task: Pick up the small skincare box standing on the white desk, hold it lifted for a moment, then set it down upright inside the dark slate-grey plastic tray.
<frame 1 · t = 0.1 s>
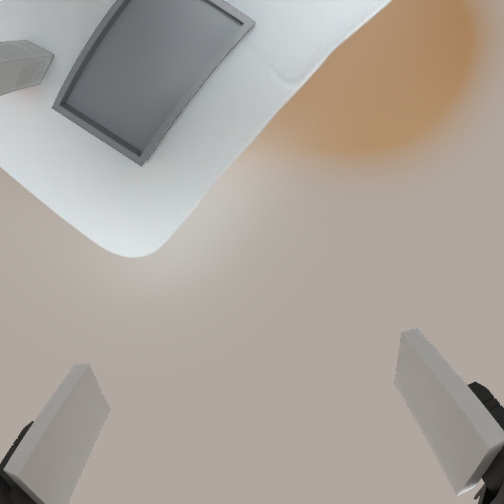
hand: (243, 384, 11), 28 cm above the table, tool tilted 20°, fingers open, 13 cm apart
tray: (146, 60, 27), on the table
skincare box: (33, 61, 24), on the table
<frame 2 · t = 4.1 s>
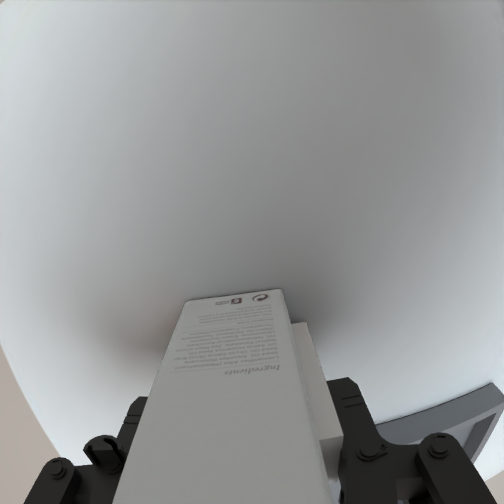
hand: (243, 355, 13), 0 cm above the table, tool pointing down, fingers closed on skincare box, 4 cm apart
tray: (362, 478, 17), on the table
skincare box: (242, 349, 14), on the table, touching gripper
when the fingers open (2 cm above the table, at t = 9.3 s): skincare box drops 1 cm, resting on tray.
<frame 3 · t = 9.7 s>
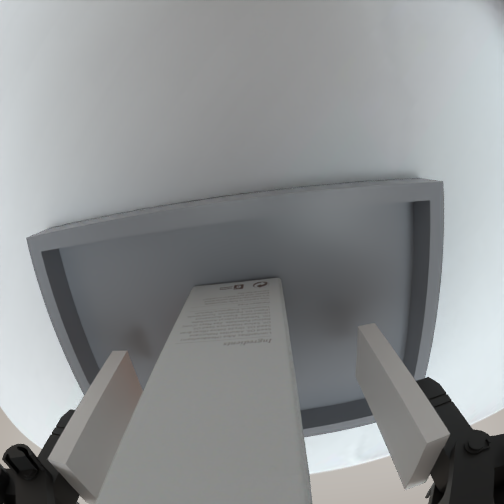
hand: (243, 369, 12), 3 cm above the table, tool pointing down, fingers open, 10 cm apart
tray: (244, 329, 16), on the table
skincare box: (244, 333, 15), resting on tray
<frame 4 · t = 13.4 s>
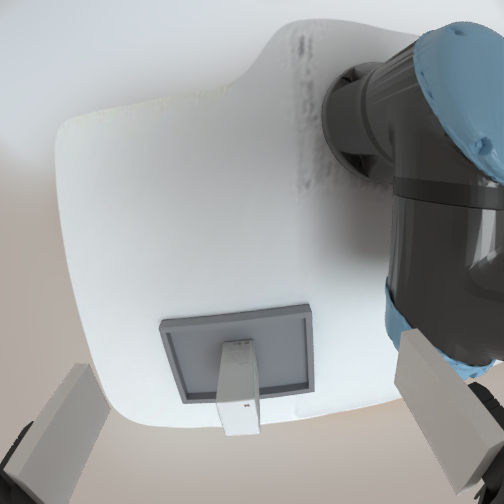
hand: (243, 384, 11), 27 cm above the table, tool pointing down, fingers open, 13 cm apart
tray: (241, 355, 42), on the table
skincare box: (241, 357, 41), resting on tray
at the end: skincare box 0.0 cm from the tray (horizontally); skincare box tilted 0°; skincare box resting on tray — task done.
